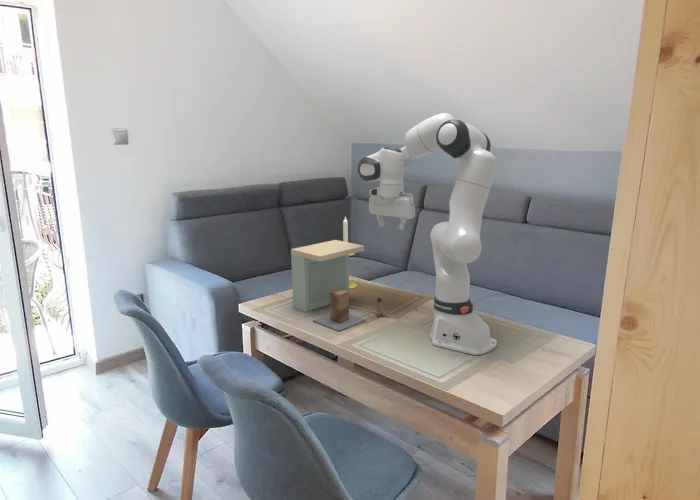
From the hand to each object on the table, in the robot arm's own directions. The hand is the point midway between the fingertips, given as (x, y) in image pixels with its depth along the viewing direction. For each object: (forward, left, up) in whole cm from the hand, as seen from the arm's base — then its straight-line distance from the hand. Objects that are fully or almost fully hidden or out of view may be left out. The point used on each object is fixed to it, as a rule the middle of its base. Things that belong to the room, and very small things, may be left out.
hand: (391, 227), depth 189 cm
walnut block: (+6, +22, -32) cm, 40 cm away
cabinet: (+22, +12, -33) cm, 42 cm away
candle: (+36, -11, -33) cm, 50 cm away
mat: (+6, +22, -33) cm, 40 cm away
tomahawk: (+4, 0, -34) cm, 34 cm away
